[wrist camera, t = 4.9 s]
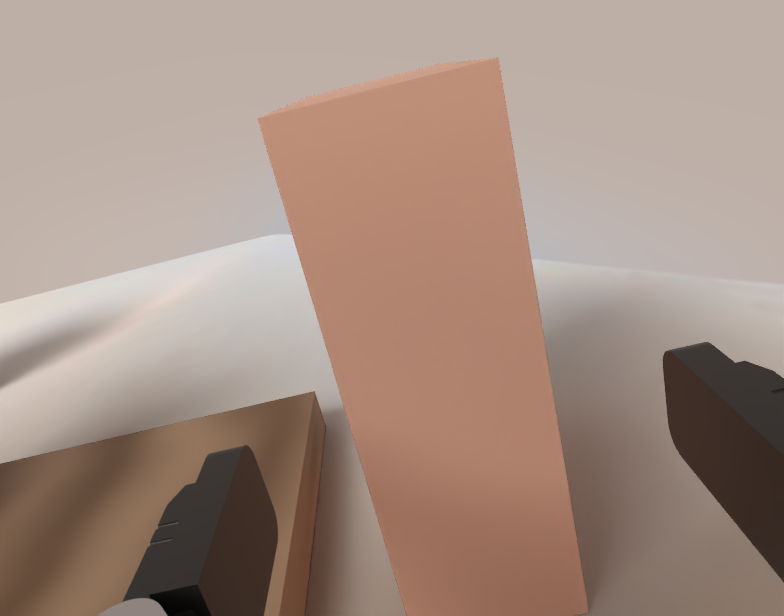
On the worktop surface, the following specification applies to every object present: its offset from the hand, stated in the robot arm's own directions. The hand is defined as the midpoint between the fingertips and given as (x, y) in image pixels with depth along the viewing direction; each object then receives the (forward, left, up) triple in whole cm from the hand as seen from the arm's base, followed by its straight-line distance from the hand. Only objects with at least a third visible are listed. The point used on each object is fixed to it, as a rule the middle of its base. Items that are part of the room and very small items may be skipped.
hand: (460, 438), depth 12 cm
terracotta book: (0, +9, -9) cm, 12 cm away
